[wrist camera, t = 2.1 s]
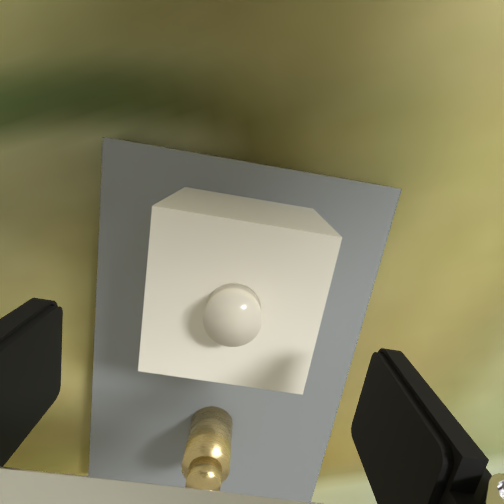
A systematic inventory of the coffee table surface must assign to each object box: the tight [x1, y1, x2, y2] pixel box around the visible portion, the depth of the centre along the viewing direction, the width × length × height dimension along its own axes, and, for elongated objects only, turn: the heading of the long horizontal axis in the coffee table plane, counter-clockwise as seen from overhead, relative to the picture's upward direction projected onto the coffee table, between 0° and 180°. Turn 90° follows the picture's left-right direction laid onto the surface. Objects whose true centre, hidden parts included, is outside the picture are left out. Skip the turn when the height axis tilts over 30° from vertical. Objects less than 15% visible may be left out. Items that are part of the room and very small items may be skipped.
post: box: [181, 406, 233, 491], centre depth 20 cm, size 3×3×4 cm
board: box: [89, 137, 402, 502], centre depth 21 cm, size 22×15×1 cm
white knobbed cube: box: [138, 187, 342, 395], centre depth 15 cm, size 7×7×7 cm
